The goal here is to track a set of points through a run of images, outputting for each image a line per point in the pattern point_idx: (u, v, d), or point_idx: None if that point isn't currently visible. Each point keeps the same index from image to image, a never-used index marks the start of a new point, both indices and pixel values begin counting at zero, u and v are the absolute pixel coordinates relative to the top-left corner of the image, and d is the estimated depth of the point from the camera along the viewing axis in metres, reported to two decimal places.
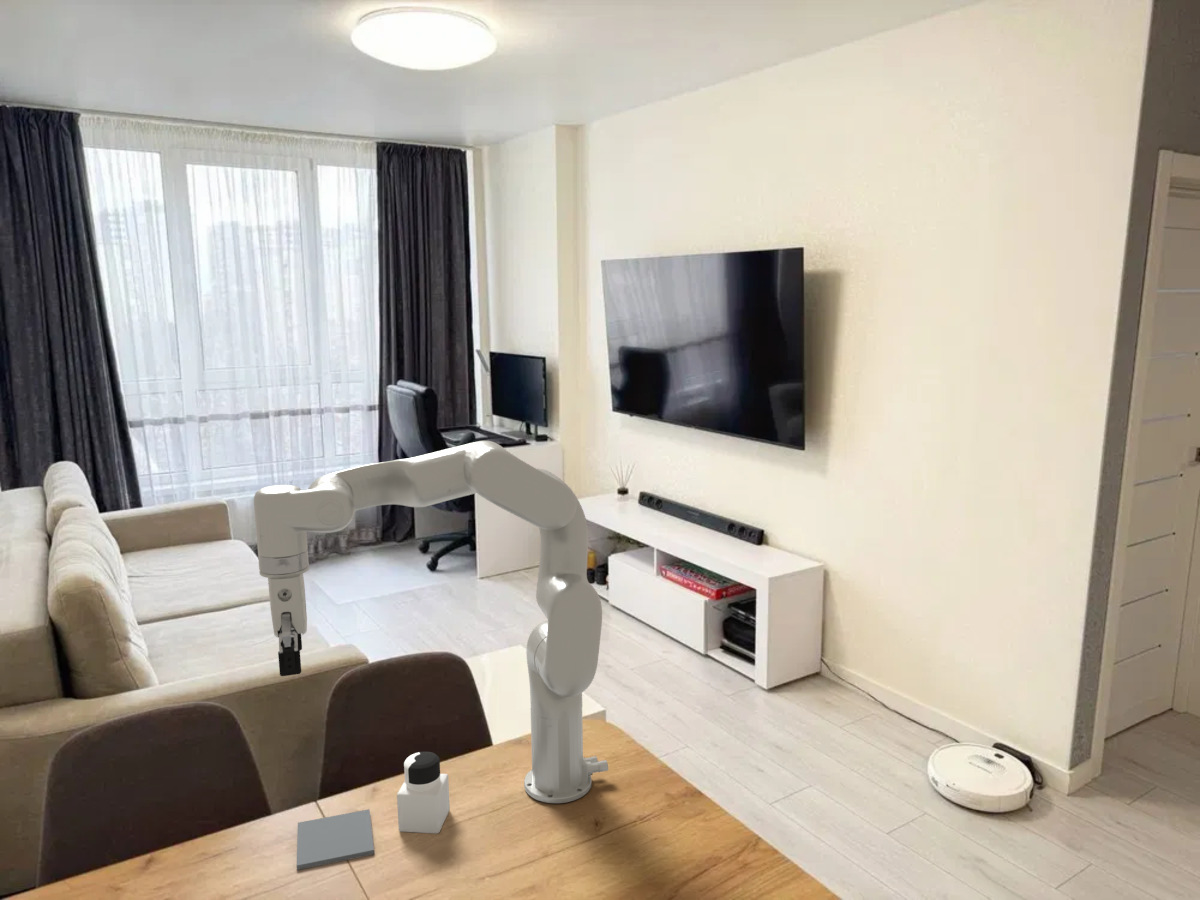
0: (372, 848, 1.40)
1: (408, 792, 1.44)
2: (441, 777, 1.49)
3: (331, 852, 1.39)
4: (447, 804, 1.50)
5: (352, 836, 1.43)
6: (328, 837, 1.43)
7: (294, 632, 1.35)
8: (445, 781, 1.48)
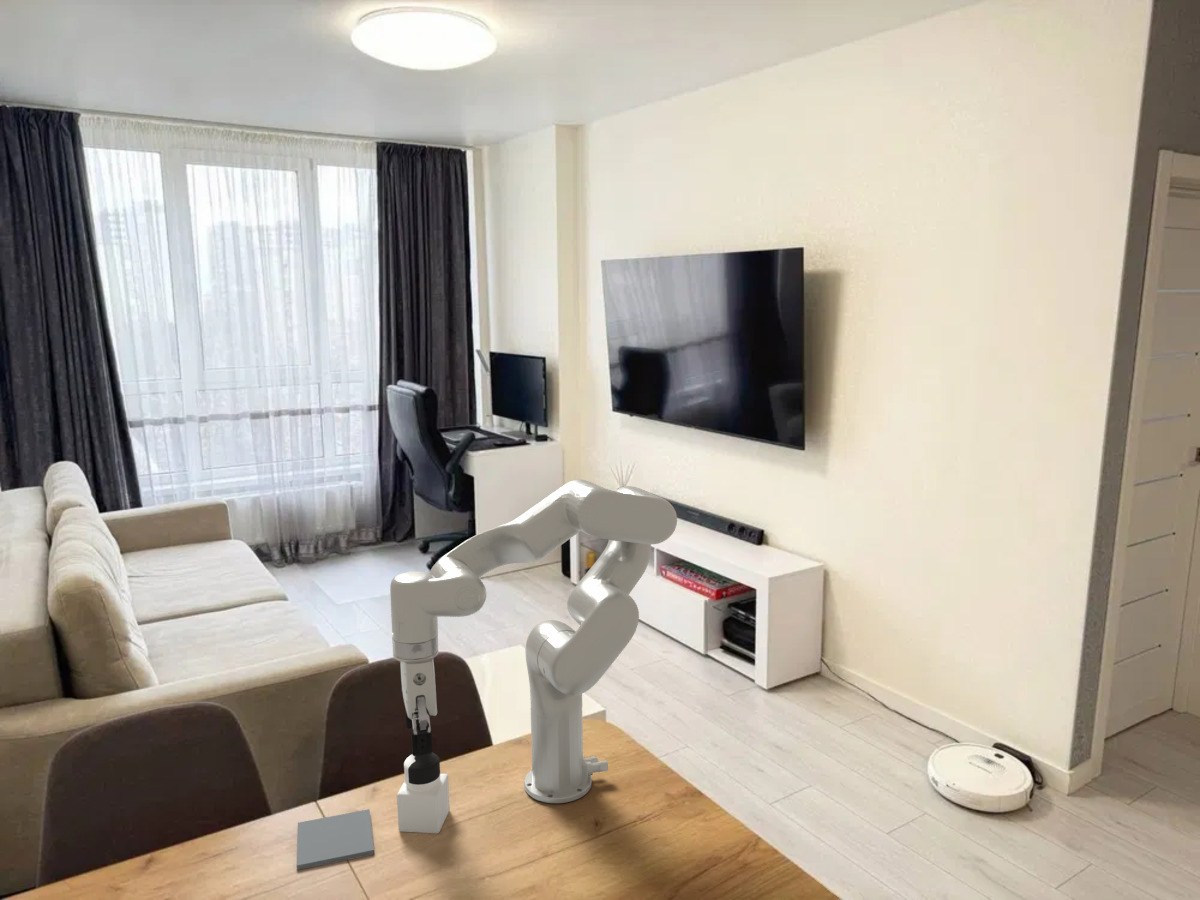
0: (372, 848, 1.40)
1: (408, 792, 1.44)
2: (441, 777, 1.49)
3: (331, 852, 1.39)
4: (447, 804, 1.50)
5: (352, 836, 1.43)
6: (328, 837, 1.43)
7: (426, 714, 1.41)
8: (445, 781, 1.48)
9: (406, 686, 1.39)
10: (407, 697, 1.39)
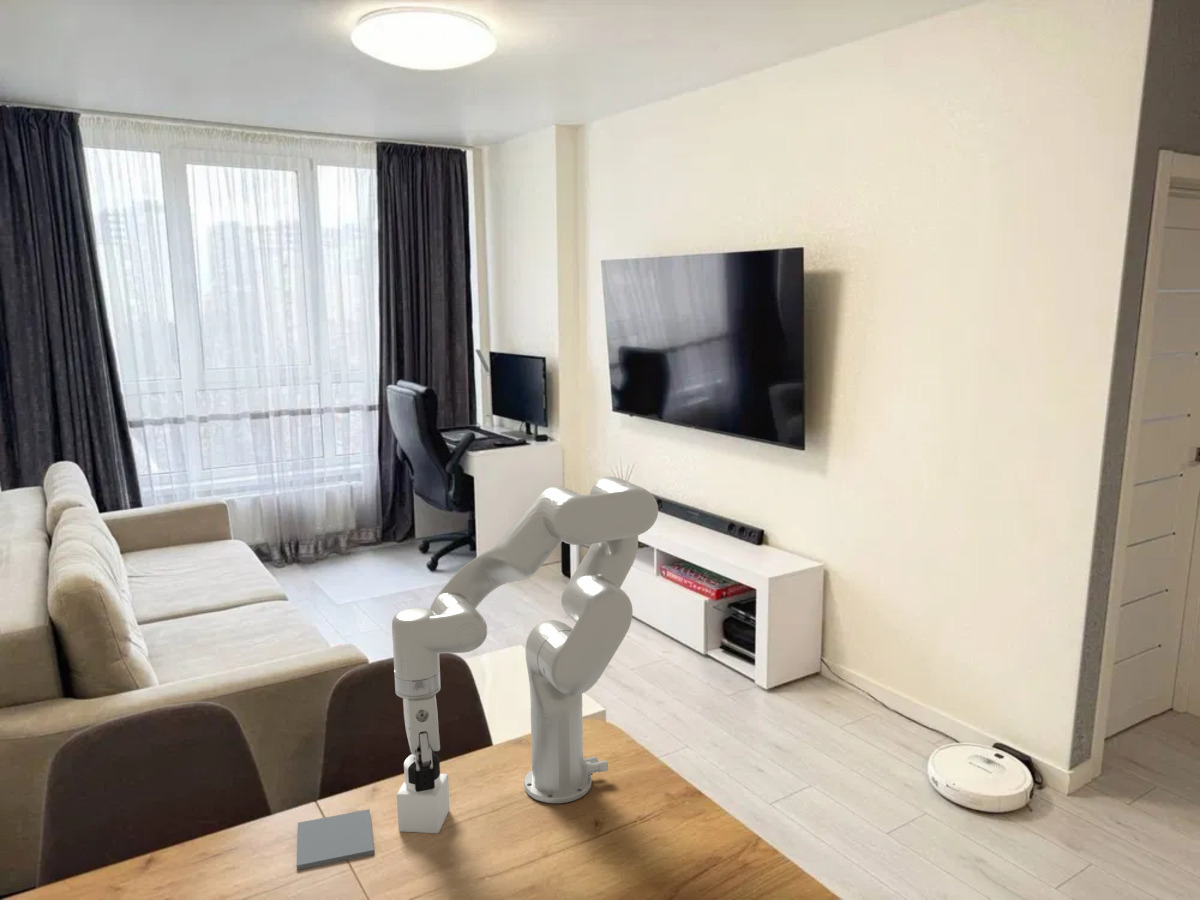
0: (372, 848, 1.40)
1: (407, 792, 1.44)
2: (441, 777, 1.49)
3: (331, 852, 1.39)
4: (447, 804, 1.50)
5: (352, 836, 1.43)
6: (328, 837, 1.43)
7: (429, 751, 1.43)
8: (445, 781, 1.48)
9: (409, 723, 1.40)
10: (410, 734, 1.40)
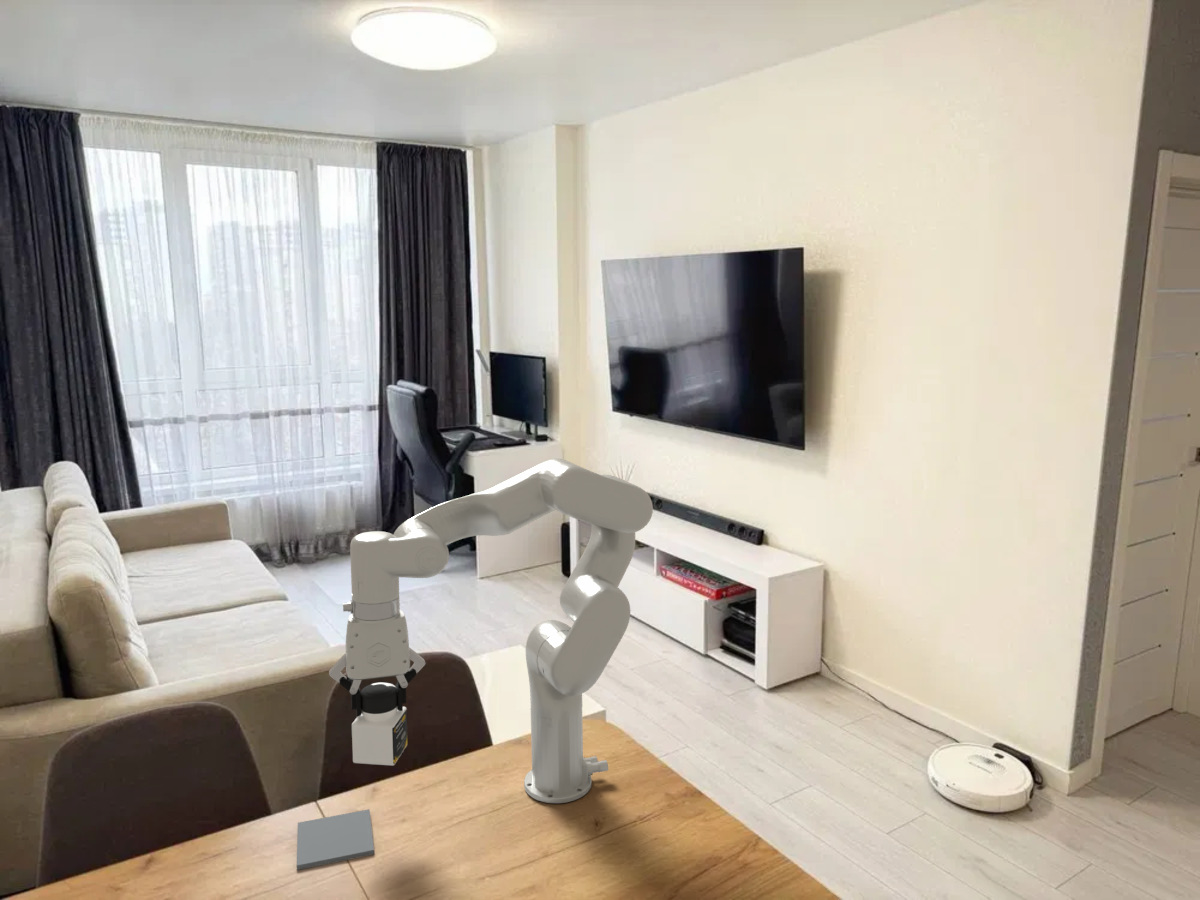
0: (372, 848, 1.40)
1: None
2: (385, 722, 1.39)
3: (331, 852, 1.39)
4: (384, 754, 1.40)
5: (352, 836, 1.43)
6: (328, 837, 1.43)
7: None
8: (381, 727, 1.39)
9: None
10: None
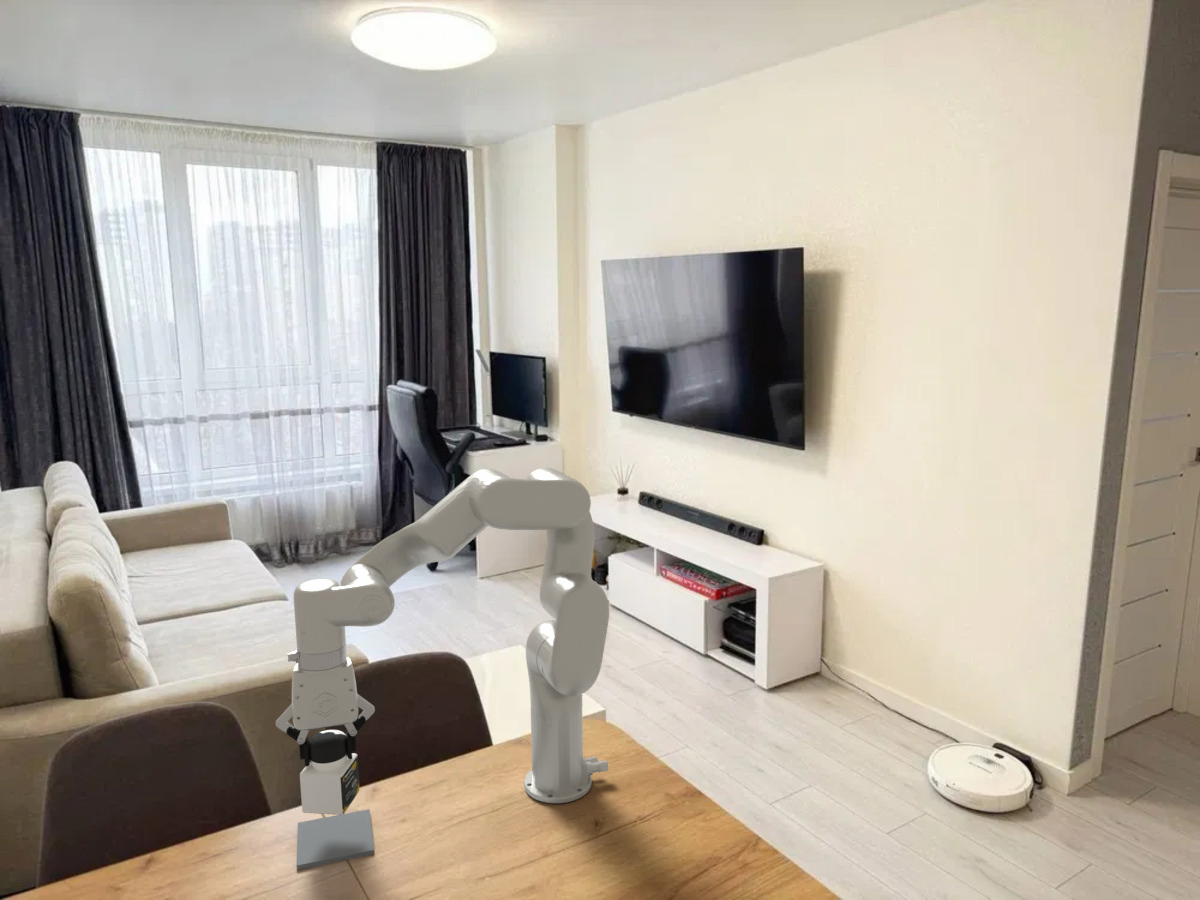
0: (372, 848, 1.40)
1: None
2: (333, 771, 1.38)
3: (331, 852, 1.39)
4: (333, 804, 1.38)
5: (352, 836, 1.43)
6: (328, 837, 1.43)
7: None
8: (329, 777, 1.37)
9: None
10: None
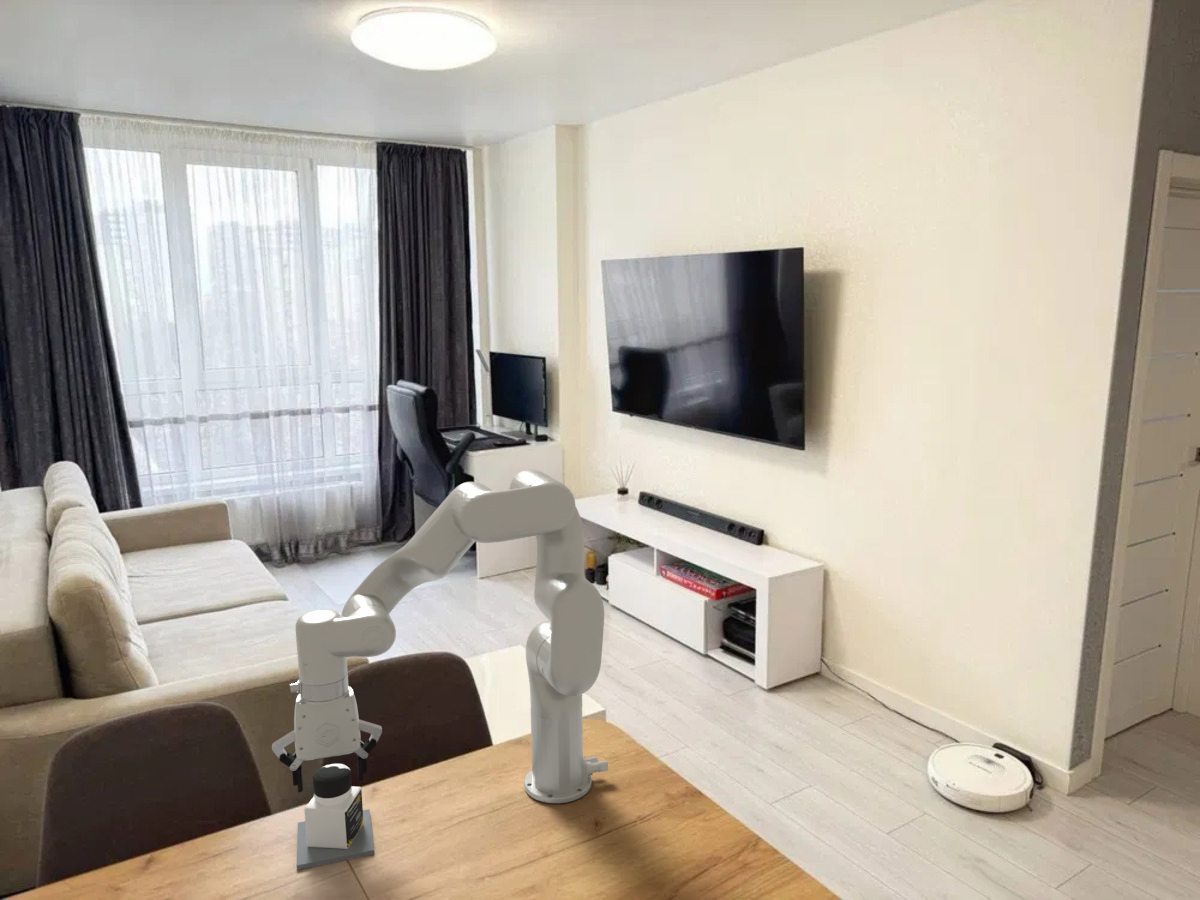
0: (372, 848, 1.40)
1: None
2: (338, 806, 1.39)
3: (331, 852, 1.39)
4: (338, 838, 1.39)
5: None
6: None
7: None
8: (333, 811, 1.38)
9: None
10: None
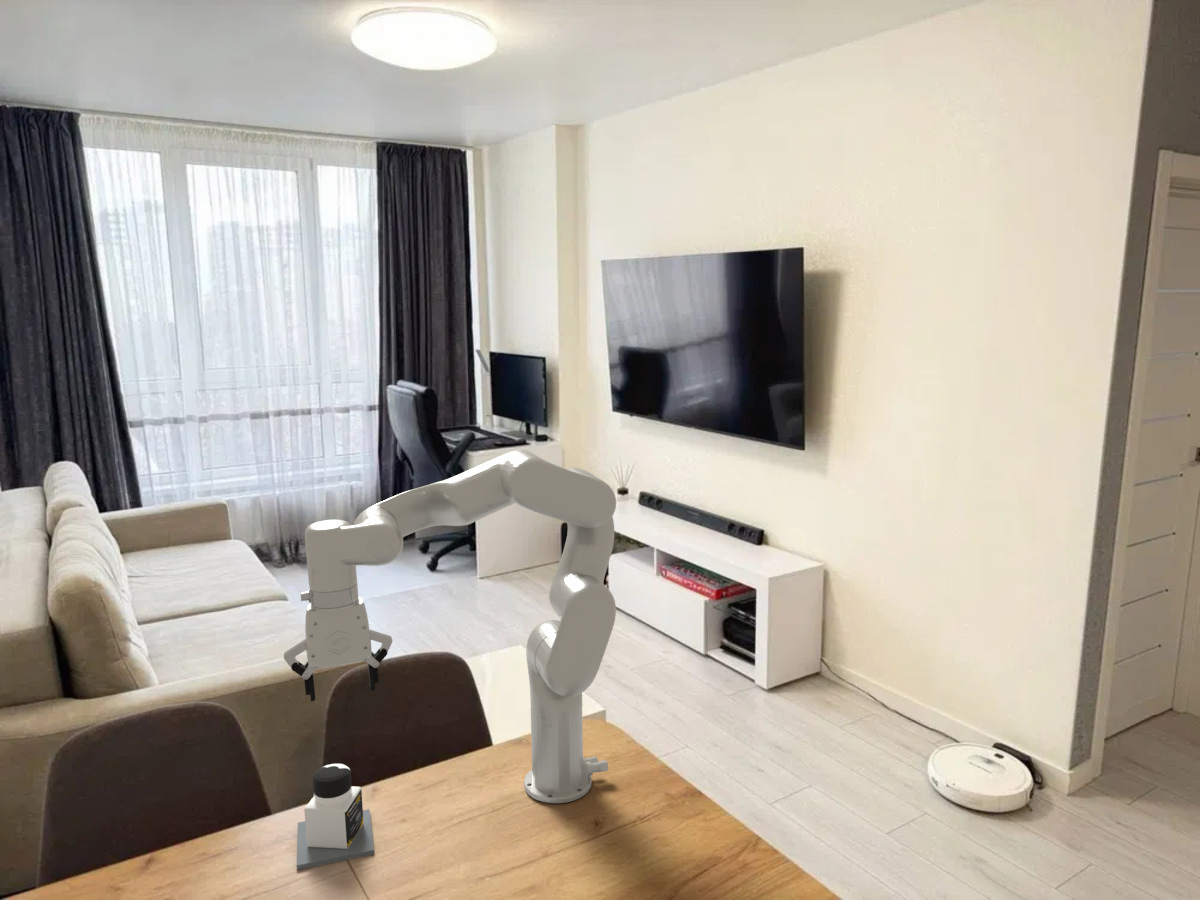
0: (372, 848, 1.40)
1: None
2: (338, 806, 1.39)
3: (331, 852, 1.39)
4: (338, 838, 1.39)
5: None
6: None
7: None
8: (333, 811, 1.38)
9: None
10: None
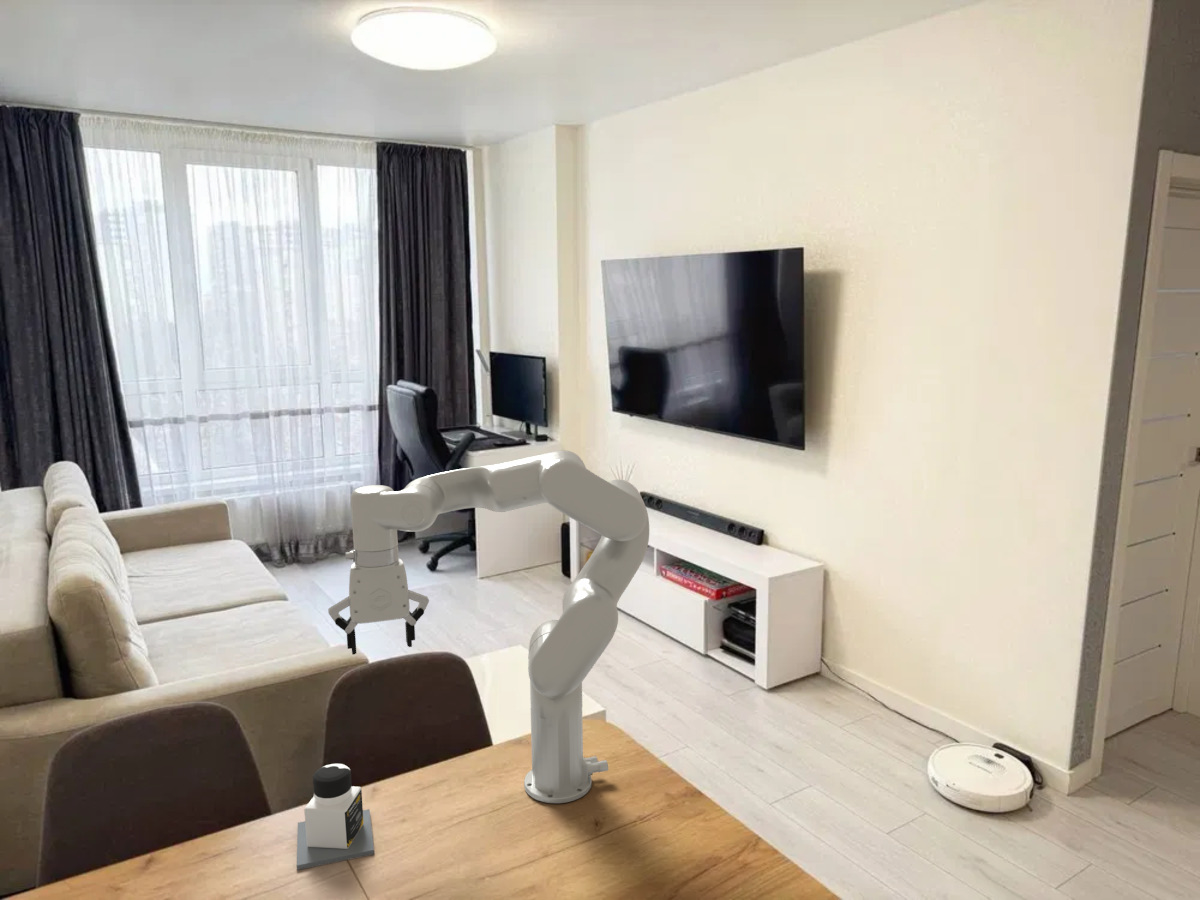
0: (372, 848, 1.40)
1: None
2: (338, 806, 1.39)
3: (331, 852, 1.39)
4: (338, 838, 1.39)
5: None
6: None
7: None
8: (333, 811, 1.38)
9: None
10: None
